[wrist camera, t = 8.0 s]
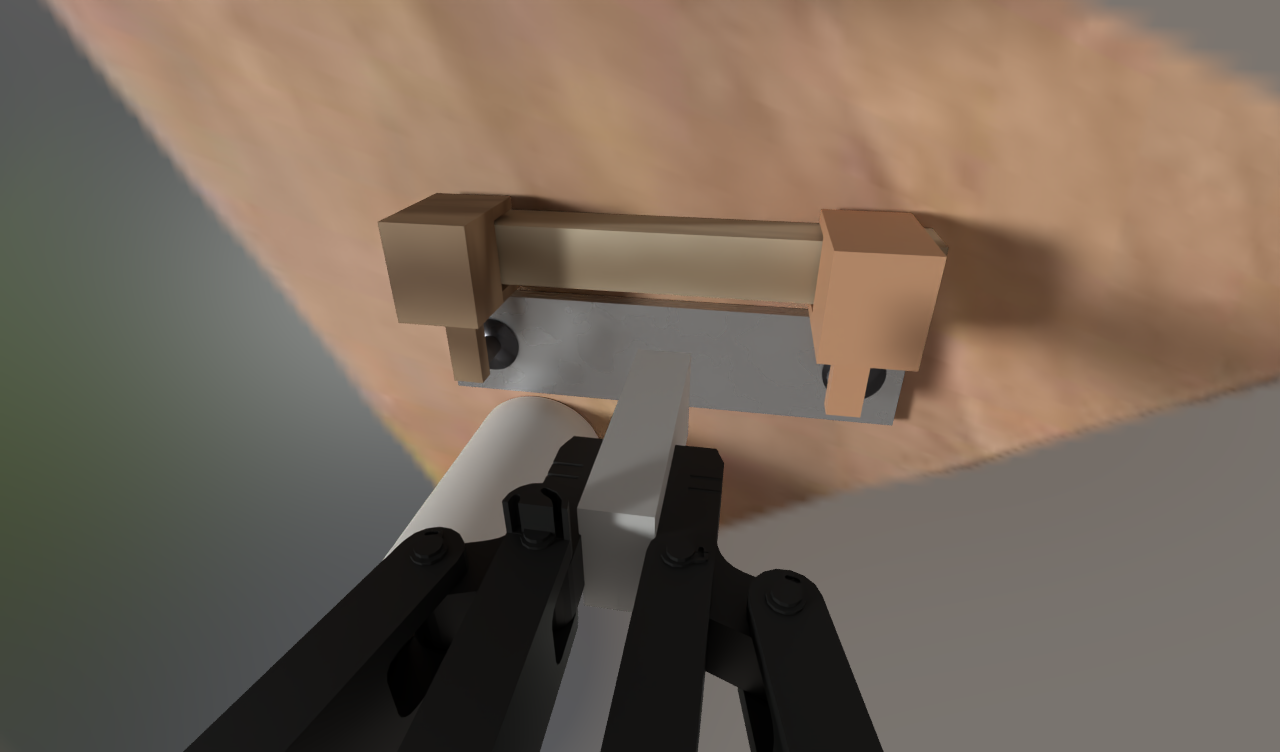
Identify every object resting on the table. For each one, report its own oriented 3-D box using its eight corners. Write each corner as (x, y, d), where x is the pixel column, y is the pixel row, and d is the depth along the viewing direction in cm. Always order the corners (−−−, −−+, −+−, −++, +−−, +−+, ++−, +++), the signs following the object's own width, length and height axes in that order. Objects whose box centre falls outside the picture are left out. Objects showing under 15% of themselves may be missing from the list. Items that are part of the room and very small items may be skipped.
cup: (603, 403, 37) (508, 621, 23) (604, 508, 41) (523, 745, 28) (475, 388, 38) (312, 587, 25) (487, 491, 42) (354, 711, 29)
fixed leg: (436, 193, 32) (377, 221, 27) (510, 196, 31) (463, 226, 26) (461, 349, 36) (414, 398, 31) (526, 355, 35) (489, 405, 31)
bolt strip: (450, 285, 35) (441, 293, 34) (912, 316, 31) (916, 325, 30) (465, 377, 38) (457, 386, 37) (889, 415, 34) (892, 427, 33)
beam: (438, 206, 33) (410, 221, 30) (932, 228, 29) (948, 247, 27) (446, 260, 34) (420, 278, 32) (918, 288, 31) (932, 311, 28)
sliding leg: (821, 209, 29) (834, 251, 23) (911, 212, 28) (946, 257, 23) (797, 377, 33) (803, 446, 28) (875, 383, 32) (897, 455, 27)
